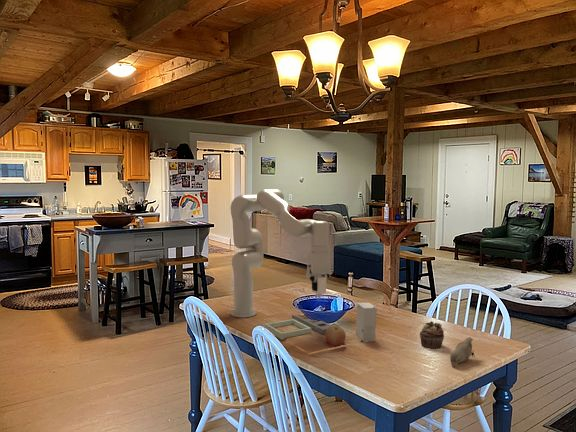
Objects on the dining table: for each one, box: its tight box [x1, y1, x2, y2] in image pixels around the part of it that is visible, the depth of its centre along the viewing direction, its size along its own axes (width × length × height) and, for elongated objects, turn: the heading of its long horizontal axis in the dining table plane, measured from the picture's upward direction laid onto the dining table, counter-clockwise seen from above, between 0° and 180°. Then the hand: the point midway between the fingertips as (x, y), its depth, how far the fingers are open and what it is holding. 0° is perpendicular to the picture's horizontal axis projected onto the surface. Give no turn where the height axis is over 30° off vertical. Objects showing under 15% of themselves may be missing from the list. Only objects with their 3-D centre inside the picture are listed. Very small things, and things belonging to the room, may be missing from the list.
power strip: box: [291, 313, 332, 335], centre depth 220 cm, size 31×7×4 cm, turn 31°
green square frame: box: [264, 318, 312, 341], centre depth 210 cm, size 15×15×3 cm
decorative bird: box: [449, 336, 476, 368], centre depth 179 cm, size 5×16×8 cm, turn 138°
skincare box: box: [355, 302, 378, 343], centre depth 202 cm, size 8×6×15 cm
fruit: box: [324, 324, 347, 348], centre depth 194 cm, size 8×8×8 cm
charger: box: [311, 275, 327, 298], centre depth 210 cm, size 5×4×9 cm
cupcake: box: [419, 320, 445, 350], centre depth 195 cm, size 10×10×10 cm
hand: (318, 289), depth 210 cm, fingers closed on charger, 4 cm apart
